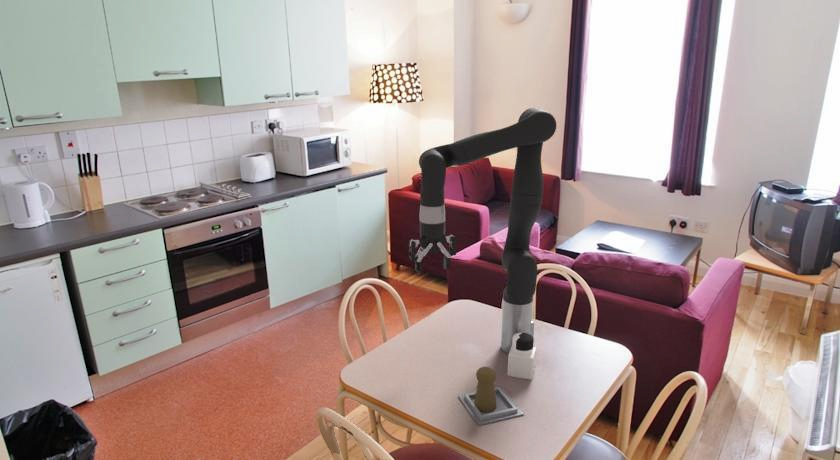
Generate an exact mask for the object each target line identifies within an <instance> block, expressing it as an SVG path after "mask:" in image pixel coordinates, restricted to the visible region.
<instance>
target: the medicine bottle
mask: <svg viewBox="0 0 840 460" xmlns="http://www.w3.org/2000/svg"><path fill="white" fill-rule="evenodd" d="M534 339H535V338H534V337H532V335H530V334H528V333H516V334H515V335H514V336H513V342H512V347H511V349H510V352H509V353H508V355H507V356H508V357H507V377H513V378H519V379H524V380H525V379H526V380H530V381H531V380H533V376H534V373H535V370H536V360H537V359H536V358H537V347H536V346H534V341H535V340H534Z"/></svg>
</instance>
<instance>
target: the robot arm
mask: <svg viewBox="0 0 840 460" xmlns="http://www.w3.org/2000/svg"><path fill="white" fill-rule="evenodd" d="M556 130H557V120H556V118H555V116H554V115H553V114H552V113H551V112H549V111H547V110H545V109H541V108H539V107H538V108H537V107H530V108H527V109H525V110H524V111H523V112H521V114H520V115H519V118H518V120H517V122H515V123H513V124H511V125H509V126H506V127H503V128H499V129H495V130H490V131H486V132H485V131H484V132H481V133H478V134H477V133H476V134H474V135H470V136H467V137H464V138H462V139H459V140H457V141H455V142H452V143H449V144H444V145H440V146H435V147H431V148H428V149H427V150H425V151H423V152H422V153H421V154H420V156H419V158H418V165H419V168H420V172H421V187H420V191H419V193H420V194H419V195H420V196H419V197H420V198H419V202H420V203H419V205H420V206H419V216H418V217H419V237H418V239H413V238H410V239H409V240H408V241H409V243H408V258H409V259H410V260H411V261H412V262H413V261H414V269H415V271H416V272H417V273H418V274H422V260H423V258H424V257H426V255H427V254H432V253H439V252H440V251H441V253H442V254H443V255H444V256H443V266H442V267H443V269H444V270H445V271H447V270H449V268H450V266H451V257H452V256H453V257H454V256H456V255H457V242H456V241H457V240H456V238H457V237H456V236H455V235H453V234H449V235H447V236H446V206H445V184H446V175H447V174H446V173H447V168H450V167H454V166H457V167H458V166H459V167H461V166H466V165H468V164H471V163H473V162H474V163H475V162H476V161H479V160H482V159H485V158H487V157H490V156H493V155H496V154H498V153H499V154H500V153H501V152H502V153H503V152H504V151H508V150H511V149H515V148H516V157H515V158H516V159H515V165H514V169H513V170H514V171H513V177H512V178H513V179H512V185H511V191H510V200H509V202H510V203H509V211H508V212H509V213H508V224H507V225H508V226H507V233H506V239H505V243H504V248H503V251H502V256H501V265H502V268H503V270H504V271H505V273H506V274H507V275H506V287H504V289H503V292H502V312H501V313H502V315H501V338H500V339H501V340H500V347H501V350H502V351H503V352H505V353H507V354H509V352H510V349H511V347H512V342H513V336H514V335H515V334H516V333H528V334H530V335H532V337H533V338H534V336H535V332H534V331H535V322H534V321H533V307H534V306H533V304H534V303H533V302H534V296H535V293H536V289H537V279H538V264H537V261H536V258H535V257H534V256H533V255H532V254H531V253H530V244H531V243H530V242H531V233H532V230H533V227H534V225H535V223H536V221H537V220H538V217H539V215H540V213H541V209H542V205H543V197H544V176H543V167H542V153H543V151H542V150H543V145H544V142H547V141H549V140H551V138H552V137H553V136H554V134H555V133H556ZM446 243H448V244H449V247H448V248H449V250H447V249H446V248H445V246H444V245H445V244H446ZM418 245H419V246H420V247H419V249H418V250H417V252H416V248H418Z"/></svg>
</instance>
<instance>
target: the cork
mask: <svg viewBox="0 0 840 460" xmlns="http://www.w3.org/2000/svg"><path fill="white" fill-rule="evenodd" d="M475 378H476V380H477V386H476V390H475V392H476V396H475V401H474V404H475V406H476V407H477V408H478V410H479V411H480V412H484V413H489V412H492V411H494V410H495V409H496V407H497V406H496V397H495V388H496V387H495V381H496V378H497V373H496V371H495V369H493V368H492V367H491V366H489V367H488V366H481V367H479V368H478V370H477V371H476V374H475Z"/></svg>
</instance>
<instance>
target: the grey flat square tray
mask: <svg viewBox="0 0 840 460" xmlns="http://www.w3.org/2000/svg"><path fill="white" fill-rule="evenodd" d="M494 388H495V397H496V406H497V407H496V409H495V410H494V411H492V412H489V413H484V412H480V411H479V410H478V408H477V407H476V406H475V404H474V401H475V396H476V391H475V392H470V393H466V394H462V395H458V399H459V401H460V402H461V403H462V405H463V406H464V407H465V408H466V409H465V410H467V412H468V413H469V415H470V416H471V417H472V419H473V421H474V422H475V423H476V424H477V426H478V427H480V426H483V425H487V424H491V423H492V424H493V423H496V422H500V421H505V420H509V419H514V418H517V417H522V416H525V415H524V412H523V411H522V410H521V409H520V407H518V405H517V404H516V402H514V400H513V399H512V398H511V397H510V396H509V394H508V393H507V392H506V391H505V389H503V388H502V386H497V387H494Z"/></svg>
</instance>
